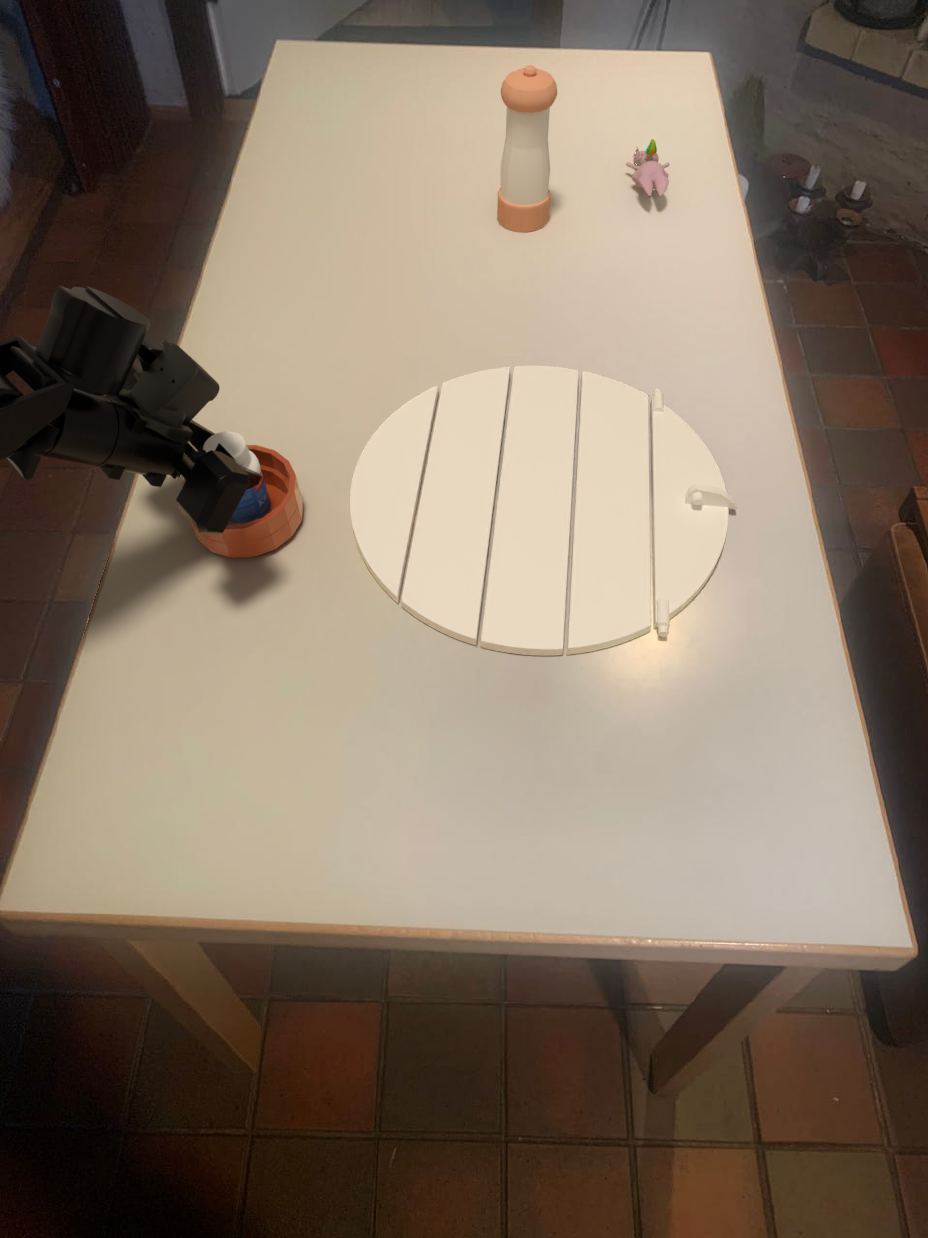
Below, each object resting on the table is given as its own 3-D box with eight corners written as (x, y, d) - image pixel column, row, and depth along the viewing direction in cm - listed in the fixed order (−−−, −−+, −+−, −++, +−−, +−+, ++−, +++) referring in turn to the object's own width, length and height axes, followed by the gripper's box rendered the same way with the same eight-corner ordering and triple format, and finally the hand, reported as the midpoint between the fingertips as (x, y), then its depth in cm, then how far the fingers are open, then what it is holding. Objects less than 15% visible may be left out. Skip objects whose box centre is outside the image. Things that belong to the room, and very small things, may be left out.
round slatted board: (723, 385, 98) (730, 361, 95) (748, 675, 76) (758, 655, 73) (384, 363, 101) (381, 339, 98) (315, 636, 79) (309, 615, 76)
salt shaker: (544, 201, 120) (554, 50, 104) (553, 230, 116) (565, 78, 100) (493, 205, 119) (496, 54, 103) (500, 234, 115) (504, 82, 99)
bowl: (174, 544, 85) (159, 511, 81) (228, 468, 91) (216, 434, 87) (273, 573, 83) (262, 541, 79) (321, 493, 89) (314, 460, 85)
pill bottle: (276, 529, 86) (256, 461, 78) (223, 540, 85) (198, 472, 77) (269, 491, 89) (249, 421, 80) (217, 501, 88) (192, 432, 80)
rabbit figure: (621, 168, 127) (630, 208, 116) (626, 124, 122) (636, 161, 112) (662, 169, 127) (675, 208, 116) (669, 125, 122) (684, 161, 112)
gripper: (198, 405, 62) (339, 445, 75) (84, 288, 70) (230, 343, 83) (136, 527, 66) (281, 546, 79) (35, 403, 74) (182, 439, 87)
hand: (243, 463), depth 82 cm, fingers closed on pill bottle, 5 cm apart
